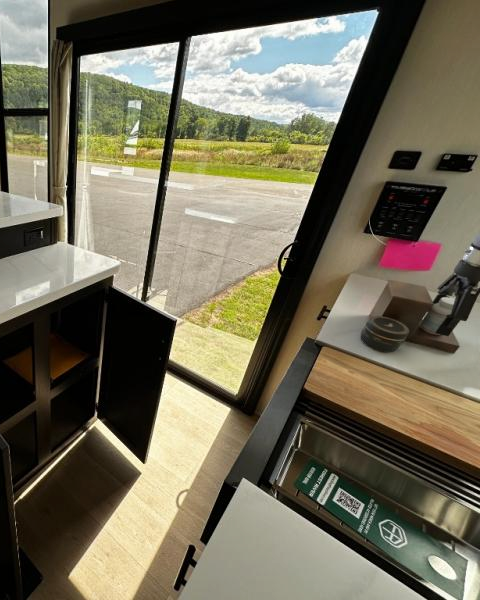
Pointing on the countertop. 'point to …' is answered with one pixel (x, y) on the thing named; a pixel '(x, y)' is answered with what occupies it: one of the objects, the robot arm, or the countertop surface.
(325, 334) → the countertop surface
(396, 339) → the jar
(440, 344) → the step shelf
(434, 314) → the pill bottle
